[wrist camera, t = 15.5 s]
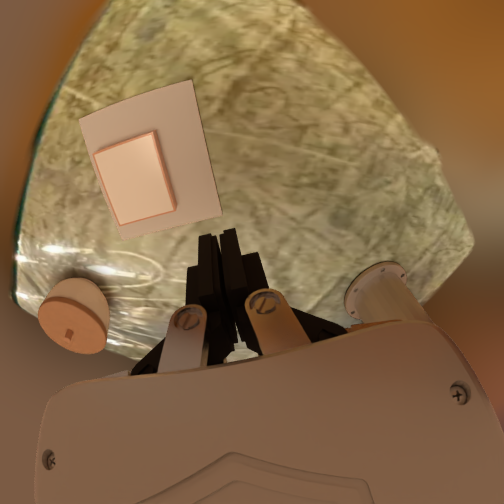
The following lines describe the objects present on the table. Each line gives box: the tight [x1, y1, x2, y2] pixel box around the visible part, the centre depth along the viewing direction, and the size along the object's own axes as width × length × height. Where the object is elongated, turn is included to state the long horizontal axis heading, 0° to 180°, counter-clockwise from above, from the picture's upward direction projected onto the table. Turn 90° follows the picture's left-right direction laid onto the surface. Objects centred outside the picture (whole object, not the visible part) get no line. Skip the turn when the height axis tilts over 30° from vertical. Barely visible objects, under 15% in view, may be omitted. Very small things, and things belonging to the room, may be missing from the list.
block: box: [92, 130, 177, 227], centre depth 27 cm, size 9×2×7 cm
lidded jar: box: [38, 277, 110, 354], centre depth 32 cm, size 11×11×9 cm
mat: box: [79, 80, 223, 241], centre depth 27 cm, size 16×13×1 cm
